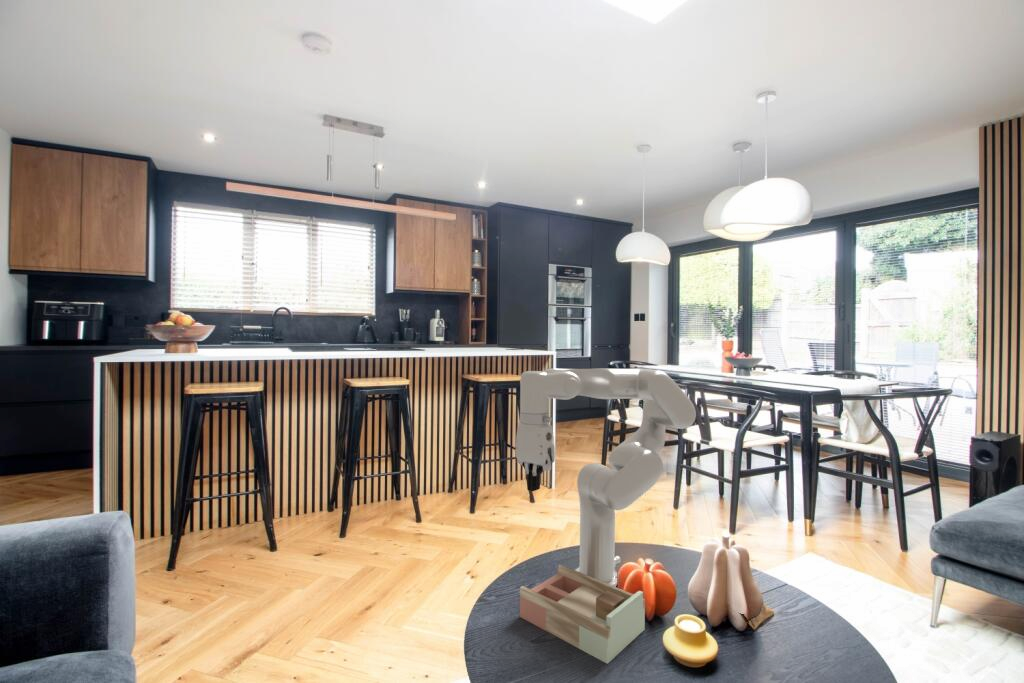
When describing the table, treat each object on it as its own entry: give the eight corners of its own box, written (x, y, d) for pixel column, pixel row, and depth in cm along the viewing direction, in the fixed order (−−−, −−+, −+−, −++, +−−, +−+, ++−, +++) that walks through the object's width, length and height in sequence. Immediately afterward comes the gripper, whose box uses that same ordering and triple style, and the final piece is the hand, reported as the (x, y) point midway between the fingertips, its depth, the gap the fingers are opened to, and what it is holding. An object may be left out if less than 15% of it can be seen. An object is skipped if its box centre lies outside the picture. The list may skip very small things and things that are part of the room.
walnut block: (606, 607, 109) (607, 590, 109) (624, 615, 106) (624, 597, 106) (595, 616, 106) (596, 598, 106) (613, 624, 103) (613, 605, 103)
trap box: (560, 591, 126) (560, 556, 126) (644, 629, 110) (645, 590, 110) (519, 616, 114) (520, 578, 114) (607, 663, 98) (608, 620, 98)
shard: (754, 633, 110) (754, 625, 110) (722, 617, 116) (722, 610, 116) (775, 616, 116) (775, 609, 116) (744, 602, 122) (744, 595, 122)
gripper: (566, 420, 122) (565, 492, 122) (522, 414, 132) (521, 480, 132) (548, 424, 116) (547, 499, 117) (503, 417, 127) (502, 486, 127)
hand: (533, 489), depth 124 cm, fingers closed
